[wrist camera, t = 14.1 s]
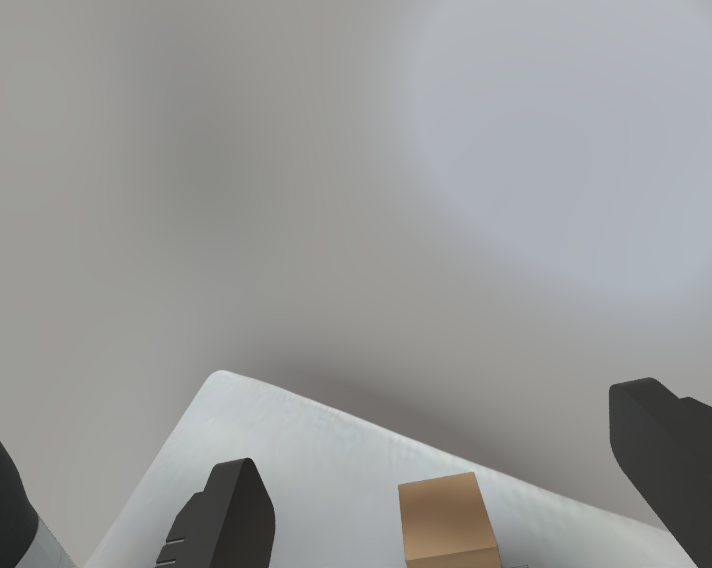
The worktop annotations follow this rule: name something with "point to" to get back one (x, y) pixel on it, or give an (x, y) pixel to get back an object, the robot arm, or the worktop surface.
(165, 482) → the worktop surface
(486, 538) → the walnut block
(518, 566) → the grey cradle
